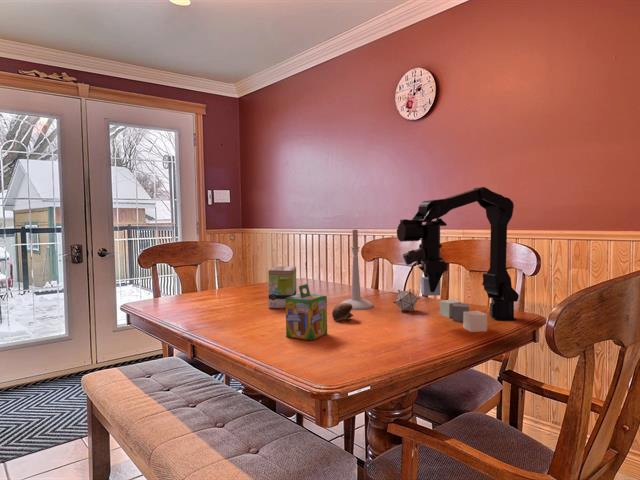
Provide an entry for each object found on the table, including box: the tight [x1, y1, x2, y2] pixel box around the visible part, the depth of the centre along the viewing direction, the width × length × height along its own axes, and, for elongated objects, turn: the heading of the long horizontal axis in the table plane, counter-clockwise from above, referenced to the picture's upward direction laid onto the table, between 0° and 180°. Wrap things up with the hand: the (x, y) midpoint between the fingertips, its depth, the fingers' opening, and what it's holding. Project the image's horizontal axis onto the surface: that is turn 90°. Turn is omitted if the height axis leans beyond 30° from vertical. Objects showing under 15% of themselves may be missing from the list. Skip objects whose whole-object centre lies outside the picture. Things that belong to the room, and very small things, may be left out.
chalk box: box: [285, 283, 328, 341], centre depth 123 cm, size 9×9×15 cm
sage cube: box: [439, 299, 462, 319], centre depth 145 cm, size 5×5×5 cm
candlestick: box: [339, 229, 374, 311], centre depth 162 cm, size 13×13×30 cm
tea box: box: [268, 265, 297, 309], centre depth 169 cm, size 15×10×15 cm
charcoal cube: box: [452, 302, 470, 323], centre depth 139 cm, size 5×5×5 cm
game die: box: [392, 288, 421, 313], centre depth 153 cm, size 9×8×10 cm
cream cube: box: [462, 310, 488, 333], centre depth 127 cm, size 5×5×5 cm
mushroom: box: [331, 302, 354, 321], centre depth 141 cm, size 8×8×6 cm
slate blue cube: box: [420, 276, 441, 297], centre depth 132 cm, size 5×5×5 cm
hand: (430, 290), depth 132 cm, fingers closed on slate blue cube, 5 cm apart
